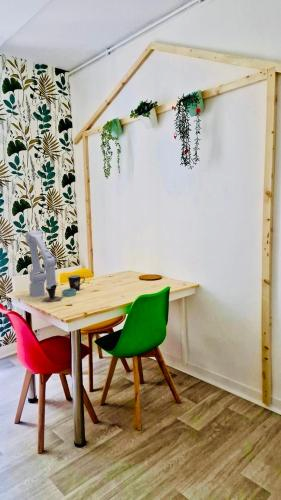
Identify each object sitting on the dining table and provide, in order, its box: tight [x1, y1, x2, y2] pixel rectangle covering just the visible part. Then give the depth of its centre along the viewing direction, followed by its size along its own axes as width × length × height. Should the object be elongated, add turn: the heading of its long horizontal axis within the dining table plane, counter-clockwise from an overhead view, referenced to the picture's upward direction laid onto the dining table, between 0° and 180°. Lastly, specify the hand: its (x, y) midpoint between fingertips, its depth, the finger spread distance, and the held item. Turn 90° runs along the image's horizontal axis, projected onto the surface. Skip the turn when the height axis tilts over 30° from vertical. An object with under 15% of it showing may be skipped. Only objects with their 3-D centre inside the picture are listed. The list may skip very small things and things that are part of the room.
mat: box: [41, 296, 64, 303], centre depth 215 cm, size 12×10×1 cm
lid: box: [43, 295, 61, 303], centre depth 215 cm, size 10×10×5 cm
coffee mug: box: [67, 274, 85, 292], centre depth 240 cm, size 12×9×10 cm
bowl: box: [61, 288, 77, 298], centre depth 225 cm, size 9×9×4 cm
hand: (52, 297), depth 215 cm, fingers closed on lid, 3 cm apart
